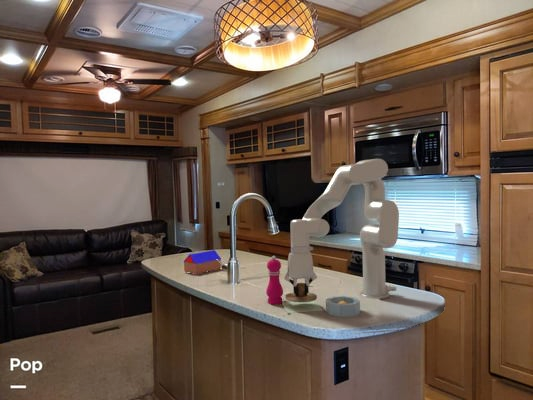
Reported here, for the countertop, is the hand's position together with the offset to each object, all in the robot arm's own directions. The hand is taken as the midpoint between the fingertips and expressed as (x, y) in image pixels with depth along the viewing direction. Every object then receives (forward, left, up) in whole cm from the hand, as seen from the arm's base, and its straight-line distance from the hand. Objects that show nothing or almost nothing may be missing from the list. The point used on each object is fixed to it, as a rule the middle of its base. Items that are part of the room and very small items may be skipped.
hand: (301, 294), depth 158 cm
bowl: (-14, +10, -5) cm, 18 cm away
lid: (0, 0, -1) cm, 1 cm away
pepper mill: (+9, -10, -6) cm, 15 cm away
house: (+44, -85, -6) cm, 96 cm away
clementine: (-14, +10, -5) cm, 18 cm away
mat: (0, 0, -5) cm, 5 cm away
